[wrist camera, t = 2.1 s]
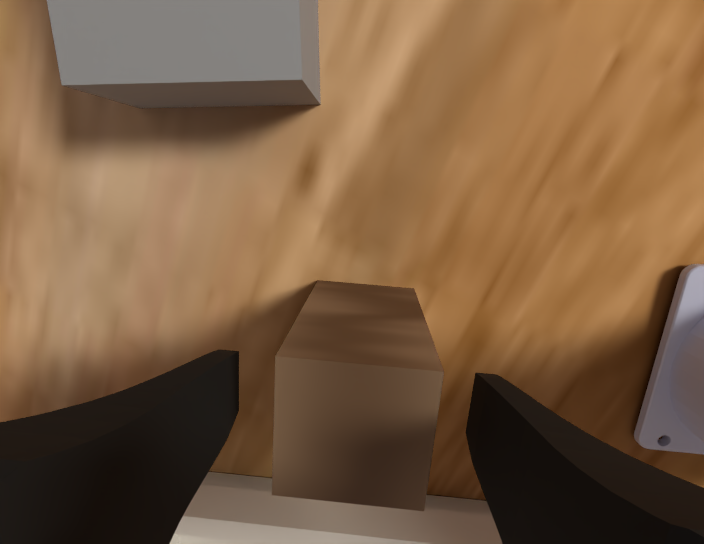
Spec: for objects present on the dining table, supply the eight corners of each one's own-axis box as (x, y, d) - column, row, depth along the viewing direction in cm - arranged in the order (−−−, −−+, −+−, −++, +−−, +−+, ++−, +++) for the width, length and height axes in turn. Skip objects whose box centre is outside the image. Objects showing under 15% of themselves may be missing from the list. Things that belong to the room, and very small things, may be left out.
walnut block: (413, 288, 16) (444, 371, 9) (403, 376, 17) (424, 511, 10) (317, 280, 16) (275, 355, 9) (313, 367, 17) (271, 495, 10)
